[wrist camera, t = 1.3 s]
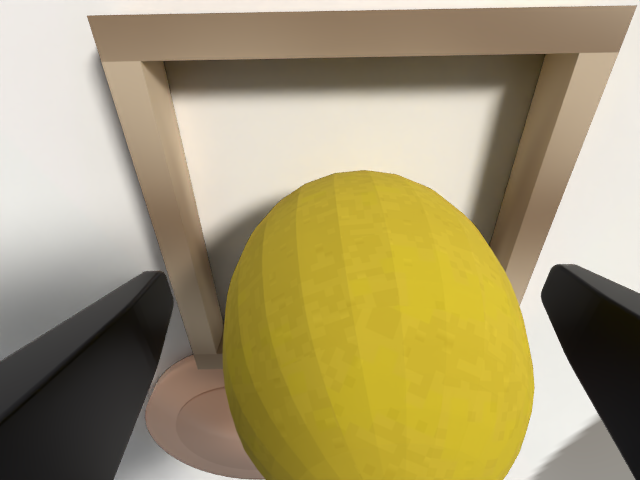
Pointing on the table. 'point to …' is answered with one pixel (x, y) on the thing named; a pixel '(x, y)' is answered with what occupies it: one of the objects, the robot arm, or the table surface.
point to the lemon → (374, 339)
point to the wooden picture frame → (355, 41)
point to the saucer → (197, 421)
